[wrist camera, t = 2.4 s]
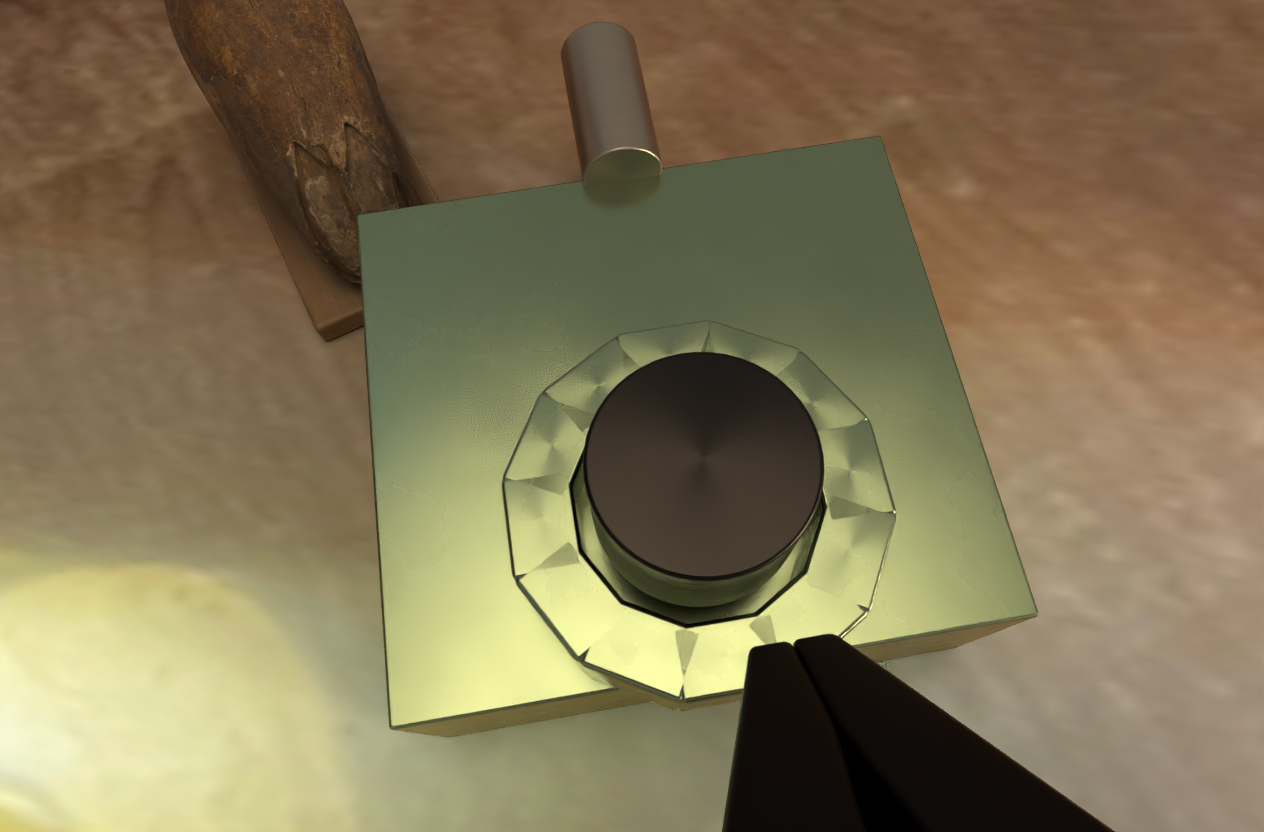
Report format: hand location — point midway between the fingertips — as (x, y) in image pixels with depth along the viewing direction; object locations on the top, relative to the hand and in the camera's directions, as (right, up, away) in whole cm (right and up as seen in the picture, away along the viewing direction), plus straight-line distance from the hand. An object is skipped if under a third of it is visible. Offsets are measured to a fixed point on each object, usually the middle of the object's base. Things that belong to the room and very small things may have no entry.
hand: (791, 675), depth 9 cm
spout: (-2, +9, +13) cm, 16 cm away
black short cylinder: (0, +1, +7) cm, 7 cm away
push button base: (-1, +1, +14) cm, 14 cm away
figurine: (-11, +11, +18) cm, 24 cm away
